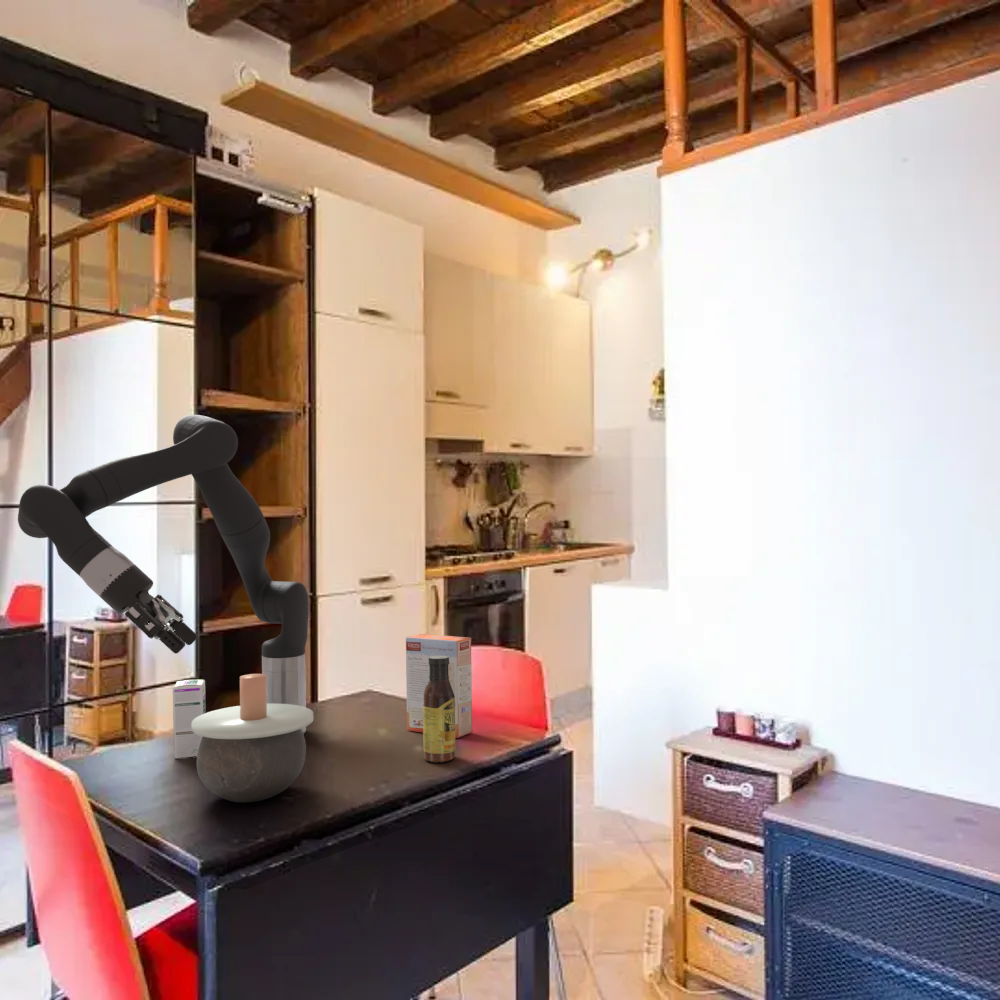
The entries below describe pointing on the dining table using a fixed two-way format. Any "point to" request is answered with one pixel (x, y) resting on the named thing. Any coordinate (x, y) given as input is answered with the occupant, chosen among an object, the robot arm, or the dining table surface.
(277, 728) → the lid
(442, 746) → the sauce bottle
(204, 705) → the syrup box
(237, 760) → the bowl
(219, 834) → the dining table surface
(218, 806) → the dining table surface
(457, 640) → the cracker box
